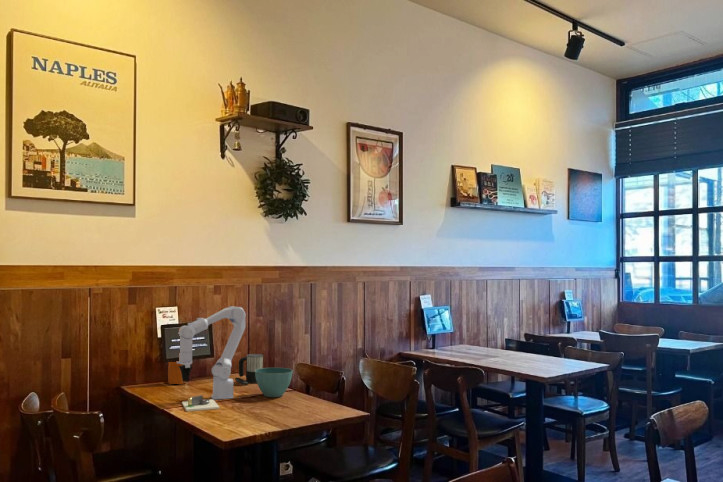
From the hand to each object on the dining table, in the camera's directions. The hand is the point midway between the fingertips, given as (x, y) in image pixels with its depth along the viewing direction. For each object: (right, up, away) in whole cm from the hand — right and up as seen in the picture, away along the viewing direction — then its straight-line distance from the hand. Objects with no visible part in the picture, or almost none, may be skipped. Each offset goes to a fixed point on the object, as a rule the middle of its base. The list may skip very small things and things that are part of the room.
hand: (185, 381), depth 277 cm
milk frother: (+21, -12, +48) cm, 54 cm away
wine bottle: (-17, -12, +45) cm, 49 cm away
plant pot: (+39, -11, +15) cm, 43 cm away
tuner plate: (+9, -9, -9) cm, 16 cm away
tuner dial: (+9, -8, -10) cm, 15 cm away
